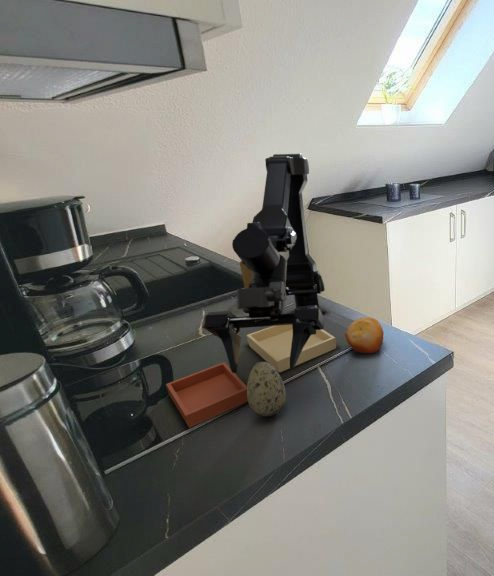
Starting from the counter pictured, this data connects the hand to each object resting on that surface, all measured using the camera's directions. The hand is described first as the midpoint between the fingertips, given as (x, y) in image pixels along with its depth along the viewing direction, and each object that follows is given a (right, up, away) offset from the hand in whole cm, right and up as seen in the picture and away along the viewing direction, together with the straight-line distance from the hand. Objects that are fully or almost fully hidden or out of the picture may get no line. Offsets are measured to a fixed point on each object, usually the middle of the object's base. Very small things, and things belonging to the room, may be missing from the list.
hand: (263, 370), depth 67 cm
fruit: (+14, 0, +22) cm, 26 cm away
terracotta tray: (-12, -6, +7) cm, 16 cm away
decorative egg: (0, -8, +3) cm, 8 cm away
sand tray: (-3, +1, +23) cm, 23 cm away
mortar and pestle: (-23, +10, +48) cm, 54 cm away
